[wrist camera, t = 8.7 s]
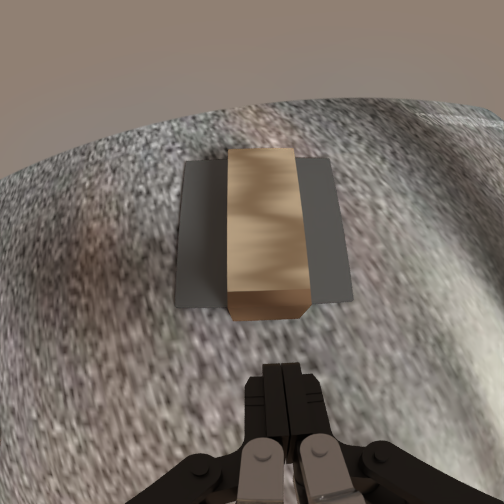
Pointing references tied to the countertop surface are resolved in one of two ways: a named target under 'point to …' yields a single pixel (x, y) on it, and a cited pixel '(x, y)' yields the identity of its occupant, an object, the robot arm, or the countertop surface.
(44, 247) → the countertop surface
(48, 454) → the countertop surface
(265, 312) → the maple block
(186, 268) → the mat
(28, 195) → the countertop surface
